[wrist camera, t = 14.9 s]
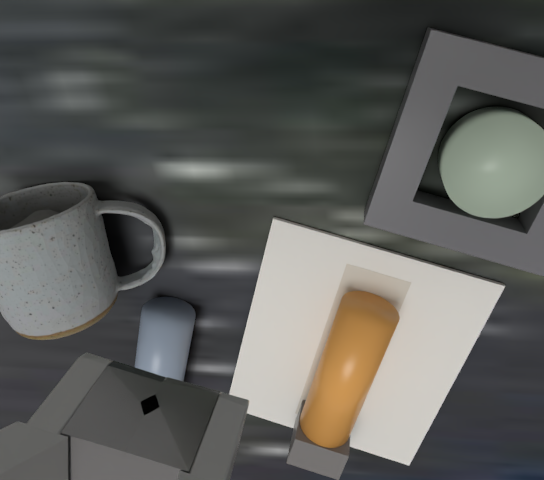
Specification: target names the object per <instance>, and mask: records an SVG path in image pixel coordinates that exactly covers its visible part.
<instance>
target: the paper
mask: <svg viewBox="0 0 544 480" xmlns="http://www.w3.org/2000/svg"><path fill="white" fill-rule="evenodd" d="M504 288H505V285H504V284H503V283H500V282H496V281H493V280H490V279H486V278H483V277H479V276H476V275H472V274H469V273H466V272H462V271H459V270H455V269H452V268H448V267H445V266H442V265H438V264H435V263H431V262H428V261H424V260H421V259H418V258H414V257H411V256H407V255H404V254H400V253H397V252H394V251H390V250H387V249H383V248H380V247H376V246H373V245H370V244H366V243H363V242H359V241H356V240H353V239H349V238H346V237H342V236H339V235H335V234H332V233H329V232H325V231H322V230H318V229H315V228H311V227H308V226H305V225H301V224H298V223H294V222H291V221H287V220H284V219H281V218H277V217H274V218H273V221H272V225H271V229H270V233H269V237H268V241H267V245H266V249H265V253H264V257H263V261H262V265H261V269H260V273H259V277H258V281H257V285H256V289H255V293H254V297H253V301H252V305H251V309H250V313H249V317H248V321H247V325H246V329H245V333H244V337H243V341H242V345H241V349H240V353H239V357H238V361H237V365H236V369H235V373H234V377H233V381H232V385H231V389H230V393H229V395H233V396H236V397H240V398H243V399H247V400H249V406H248V410H247V413H248V414H251V415H254V416H257V417H260V418H263V419H266V420H269V421H272V422H276V423H279V424H282V425H285V426H288V427H291V428H294V424H295V420H296V417H297V415H298V412H299V409H300V406H301V403H302V400H306V399H307V396H308V393H309V390H310V387H311V384H312V381H313V379H314V376H315V373H316V370H317V367H318V364H319V361H320V359H321V356H322V353H323V350H324V347H325V344H326V342H327V339H328V336H329V333H330V330H331V327H332V324H333V322H334V319H335V316H336V313H337V310H338V307H339V304H340V302H341V299H342V297H343V295H344V294H346V293H348V292H351V291H365V292H369V293H373V294H375V295H378V296H380V297H382V298H384V299H385V300H387V301H388V302H390V303H391V304H392V305H393V306H394V307H395V308H396V310H397V311H398V313H399V317H400V318H399V322H398V324H397V327H396V329H395V331H394V334H393V336H392V338H391V341H390V343H389V345H388V348H387V350H386V352H385V355H384V357H383V359H382V362H381V364H380V366H379V369H378V371H377V373H376V376H375V378H374V381H373V383H372V385H371V388H370V390H369V392H368V395H367V397H366V399H365V402H364V404H363V406H362V409H361V411H360V413H359V416H358V418H357V420H356V423H355V425H354V427H353V430H352V432H351V434H350V447H353V448H356V449H359V450H362V451H365V452H369V453H372V454H375V455H378V456H381V457H384V458H387V459H390V460H393V461H396V462H400V463H403V464H406V465H410V463H411V461H412V459H413V457H414V456H415V454H416V452H417V450H418V448H419V446H420V444H421V442H422V441H423V439H424V437H425V435H426V433H427V431H428V429H429V428H430V426H431V424H432V422H433V420H434V418H435V416H436V414H437V413H438V411H439V409H440V407H441V405H442V403H443V401H444V400H445V398H446V396H447V394H448V392H449V390H450V388H451V386H452V385H453V383H454V381H455V379H456V377H457V375H458V373H459V372H460V370H461V368H462V366H463V364H464V362H465V360H466V358H467V357H468V355H469V353H470V351H471V349H472V347H473V345H474V344H475V342H476V340H477V338H478V336H479V334H480V332H481V330H482V329H483V327H484V325H485V323H486V321H487V319H488V317H489V316H490V314H491V312H492V310H493V308H494V306H495V304H496V302H497V301H498V299H499V297H500V295H501V293H502V291H503V289H504Z"/></svg>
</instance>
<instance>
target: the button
mask: <svg viewBox="0 0 544 480" xmlns="http://www.w3.org/2000/svg"><path fill="white" fill-rule="evenodd" d="M438 168H439V172H440V175H441V178H442V181H443V184H444V187H445V190H446V192H447V194H448V196H449V197H450V199H451V200H452V201H453V202H454V203H455V204H456V205H457V206H458V207H459V208H460V209H462V210H463V211H465V212H467V213H469V214H472V215H474V216H478V217H482V218H503V217H508V216H512V215H515V214H517V213H520V212H522V211H524V210H526V209H527V208H529V207H531V206H532V205H533V204H535V203H536V202H537V201H538V200H539V199H540V198H541V197H542V196H543V195H544V130H543V129H542V128H541V127H540V126H539V125H538V124H536V123H535V122H534V121H533V120H531V119H530V118H529V117H528V116H526V115H525V114H523V113H522V112H520V111H518V110H515V109H512V108H508V107H499V106H495V107H486V108H481V109H478V110H475V111H473V112H471V113H469V114H467V115H465V116H463V117H462V118H461V119H459V120H458V121H457V122H456V123H455V124H454V125H453V126H452V127H451V128H450V129H449V130H448V131H447V133H446V135H445V136H444V138H443V140H442V142H441V145H440V148H439V152H438Z"/></svg>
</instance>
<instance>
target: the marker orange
mask: <svg viewBox="0 0 544 480" xmlns="http://www.w3.org/2000/svg"><path fill="white" fill-rule="evenodd" d="M399 318H400V317H399V313H398V311H397V310H396V308H395V307H394V306H393V305H392V304H391V303H390V302H388V301H387V300H385V299H384V298H382V297H380V296H378V295H375V294H373V293H369V292H365V291H351V292H348V293H346V294H344V295H343V297H342V299H341V302H340V304H339V307H338V310H337V313H336V316H335V319H334V322H333V324H332V327H331V330H330V333H329V336H328V339H327V342H326V344H325V347H324V350H323V353H322V356H321V359H320V361H319V364H318V367H317V370H316V373H315V376H314V379H313V381H312V384H311V387H310V390H309V393H308V396H307V399H306V400H302V403H301V406H300V409H299V412H298V415H297V417H296V420H295V424H294V429H293V434H292V438H291V443H290V448H289V453H288V458H287V463H288V464H291V465H294V466H297V467H300V468H303V469H306V470H309V471H312V472H315V473H318V474H321V475H324V476H327V477H331V478H334V479H337V480H339V478H340V475H341V473H342V471H343V469H344V466H345V464H346V462H347V460H348V457H349V448H350V434H351V432H352V430H353V427H354V425H355V423H356V420H357V418H358V416H359V413H360V411H361V409H362V406H363V404H364V402H365V399H366V397H367V395H368V392H369V390H370V388H371V385H372V383H373V381H374V378H375V376H376V373H377V371H378V369H379V366H380V364H381V362H382V359H383V357H384V355H385V352H386V350H387V348H388V345H389V343H390V341H391V338H392V336H393V334H394V331H395V329H396V327H397V324H398V322H399Z"/></svg>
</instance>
